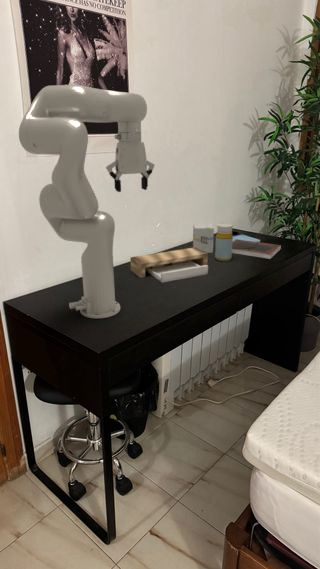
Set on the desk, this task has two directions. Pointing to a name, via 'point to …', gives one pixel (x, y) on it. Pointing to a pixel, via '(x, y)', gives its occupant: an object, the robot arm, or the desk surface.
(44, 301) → the desk surface
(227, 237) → the bottle
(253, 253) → the book
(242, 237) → the waterproof phone case
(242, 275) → the desk surface
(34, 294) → the desk surface
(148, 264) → the oak overhang
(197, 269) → the white flat rectangular tray
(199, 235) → the ink box
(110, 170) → the robot arm
